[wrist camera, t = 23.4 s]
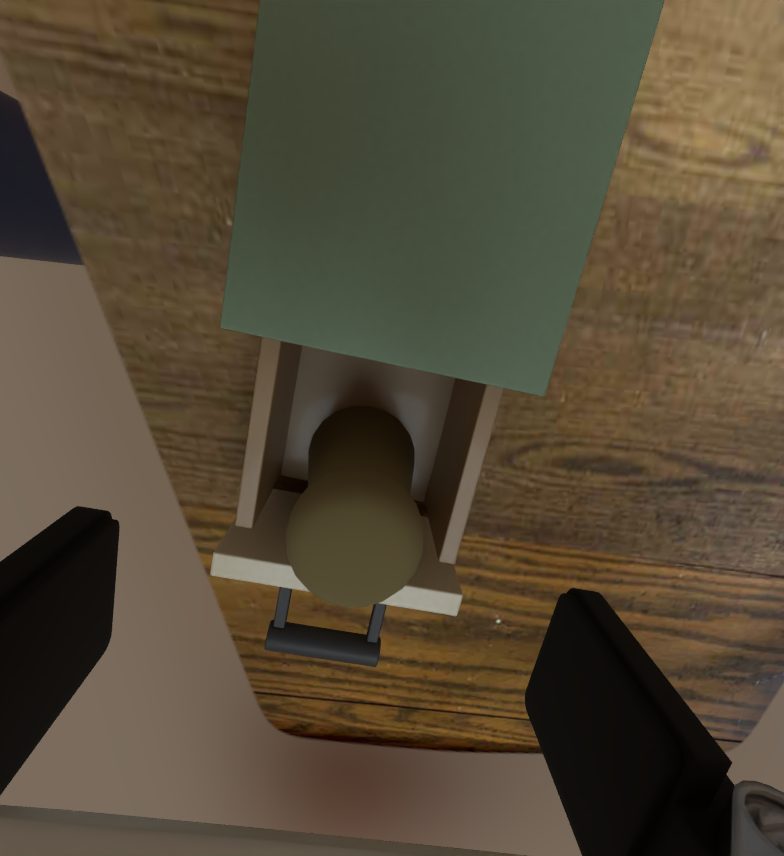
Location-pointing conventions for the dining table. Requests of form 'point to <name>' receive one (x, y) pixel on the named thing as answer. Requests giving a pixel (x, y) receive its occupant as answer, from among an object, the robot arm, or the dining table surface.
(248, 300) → the cabinet
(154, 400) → the dining table surface
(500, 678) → the dining table surface
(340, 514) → the olive rounded figure
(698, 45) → the dining table surface
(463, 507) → the drawer
